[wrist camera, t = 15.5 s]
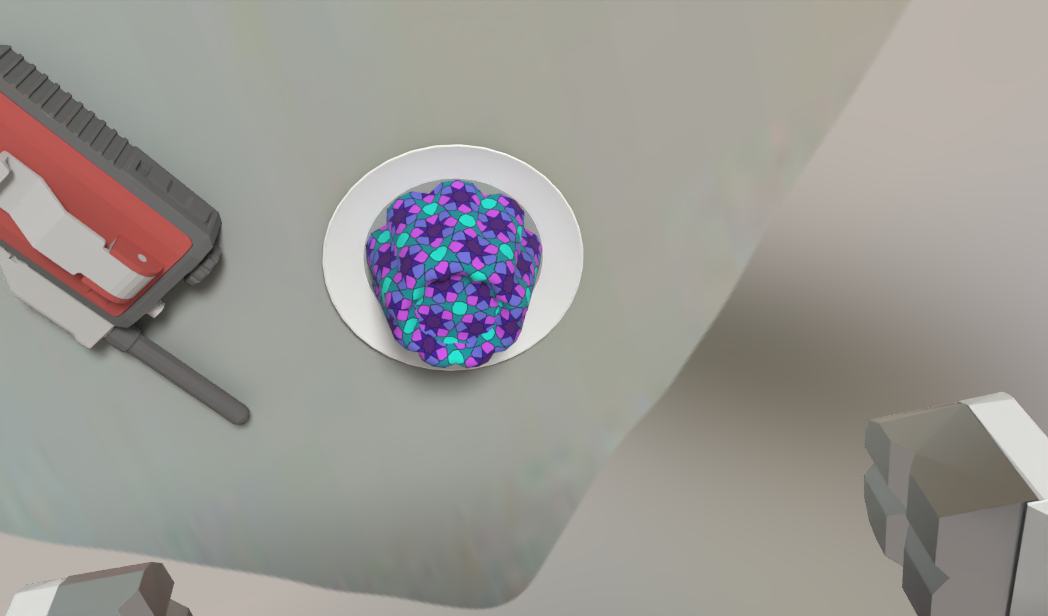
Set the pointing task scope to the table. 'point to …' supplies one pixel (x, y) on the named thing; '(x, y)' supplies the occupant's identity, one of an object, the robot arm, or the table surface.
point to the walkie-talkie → (96, 226)
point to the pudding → (453, 258)
